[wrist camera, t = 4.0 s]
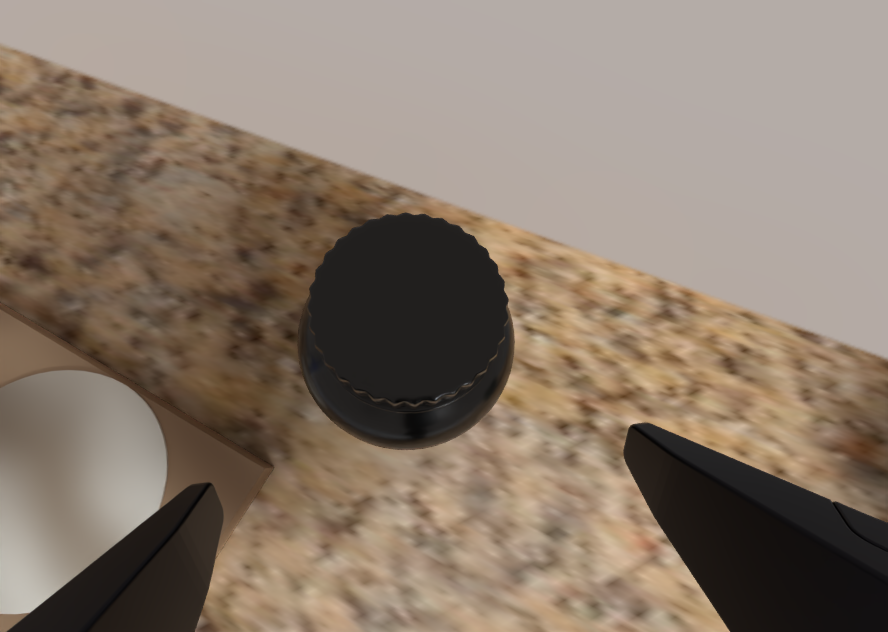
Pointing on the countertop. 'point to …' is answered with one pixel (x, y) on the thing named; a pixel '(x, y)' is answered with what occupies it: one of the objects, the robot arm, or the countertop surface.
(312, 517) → the countertop surface
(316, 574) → the countertop surface
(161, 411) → the walnut board
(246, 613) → the countertop surface
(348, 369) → the supplement bottle
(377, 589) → the countertop surface
